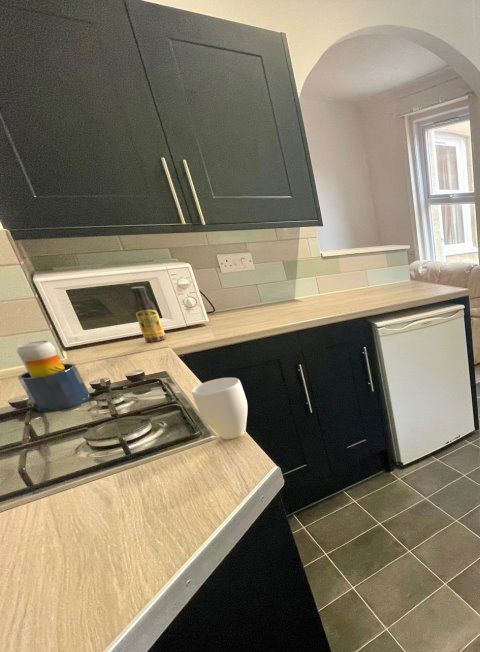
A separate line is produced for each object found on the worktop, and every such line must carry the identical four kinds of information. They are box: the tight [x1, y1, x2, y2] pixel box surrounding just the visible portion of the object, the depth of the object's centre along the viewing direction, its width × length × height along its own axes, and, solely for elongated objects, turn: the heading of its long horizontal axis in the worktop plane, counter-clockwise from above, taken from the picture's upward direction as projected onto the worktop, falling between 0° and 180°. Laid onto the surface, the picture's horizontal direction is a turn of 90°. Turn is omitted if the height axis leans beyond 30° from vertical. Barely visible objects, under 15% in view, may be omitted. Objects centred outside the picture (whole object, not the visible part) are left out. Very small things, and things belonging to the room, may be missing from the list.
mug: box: [191, 377, 249, 440], centre depth 87 cm, size 12×8×11 cm
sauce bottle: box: [130, 286, 166, 343], centre depth 154 cm, size 6×6×20 cm
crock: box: [17, 363, 92, 413], centre depth 106 cm, size 10×10×9 cm
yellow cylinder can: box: [16, 340, 66, 378], centre depth 104 cm, size 6×6×15 cm
